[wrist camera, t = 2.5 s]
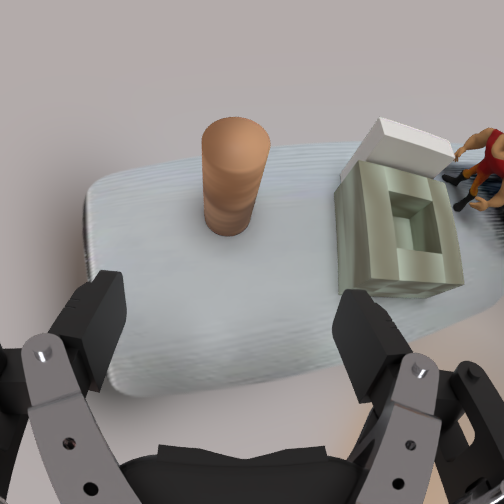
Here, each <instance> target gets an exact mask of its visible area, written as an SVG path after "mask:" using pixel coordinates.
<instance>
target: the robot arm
mask: <svg viewBox="0 0 504 504" xmlns="http://www.w3.org/2000/svg"><path fill="white" fill-rule="evenodd" d="M126 315H127V308H126V300H125V292H124V283H123V276H122V273H121V272H117V271H108V270H100V271H99V273H98V274H97V276H96V277H95V279H94V280H93V281H92V283H91V282H86V283H85V284H83V285H82V286H80V287H79V288H78V289H76V291H75V292H74V293H73V295H72V296H71V298H70V300H69V301H68V302H67V304H66V305H65V308H63V310H62V311H61V313H60V314H59V316H58V317H57V319H56V320H55V322H54V323H53V325H52V326H51V328H50V330H49V331H48V333H42V334H38V335H35V336H33V337H31V338H30V339H29V340H27V341H26V343H25V344H24V345H23V347H22V348H17V349H3V348H2V346H1V344H0V504H7V502H6V498H7V493H8V488H9V484H10V480H11V475H12V471H13V467H14V464H15V460H16V457H17V453H18V450H19V446H20V443H21V440H22V437H23V433H24V430H25V428H26V425H27V422H28V419H30V422H31V427H32V430H33V433H34V437H35V440H36V443H37V446H38V449H39V452H40V455H41V458H42V460H43V463H44V466H45V468H46V471H47V473H48V476H49V478H50V481H51V483H52V486H53V488H54V490H55V493H56V495H57V497H58V499H59V501H60V503H61V504H423V501H424V498H425V494H426V491H427V488H428V484H429V480H430V476H431V473H432V469H433V464H434V462H435V464H436V467H437V470H438V473H439V475H440V478H441V481H442V484H443V487H444V490H445V493H446V496H447V499H448V502H449V504H504V402H503V400H502V398H501V397H500V395H499V393H498V392H497V390H496V389H495V387H494V385H493V384H492V382H491V380H490V379H489V377H488V376H487V374H486V373H485V371H484V370H483V369H482V368H481V367H480V366H479V365H477V364H476V363H473V362H470V361H463V362H461V363H460V364H459V365H458V367H457V368H456V370H455V371H454V372H451V371H443V370H439V369H438V367H437V365H436V364H435V362H434V361H433V360H431V359H430V358H429V357H427V356H425V355H423V354H419V353H413V351H412V350H411V348H410V347H409V345H408V343H407V342H406V340H405V339H404V337H403V336H402V334H401V332H400V331H399V329H397V326H396V325H395V323H394V322H392V319H391V317H390V316H389V314H388V313H387V311H386V310H385V309H383V308H382V307H381V306H380V305H378V304H377V303H374V301H373V300H372V298H371V297H370V295H369V294H368V292H367V291H366V290H362V289H345V290H344V292H343V294H342V297H341V300H340V303H339V306H338V309H337V312H336V315H335V318H334V321H333V325H332V334H333V338H334V341H335V343H336V346H337V348H338V351H339V353H340V356H341V358H342V361H343V363H344V366H345V368H346V370H347V373H348V375H349V378H350V381H351V383H352V386H353V389H354V391H355V394H356V396H357V399H358V401H359V404H361V403H369V402H372V404H373V408H372V409H371V411H370V412H369V415H368V417H367V420H366V422H365V424H364V427H363V429H362V431H361V434H360V436H359V438H358V440H357V442H356V444H355V447H354V449H353V451H352V452H351V454H350V455H349V457H348V458H347V460H344V459H340V458H336V457H332V456H327V454H326V450H325V446H318V447H308V448H296V449H285V450H282V451H278V452H274V453H271V454H267V455H263V456H259V457H255V458H250V459H239V458H234V457H230V456H226V455H222V454H218V453H214V452H211V451H207V450H203V449H198V448H186V447H176V446H168V445H167V446H166V445H159V446H158V454H157V455H149V456H143V457H139V458H136V459H133V460H130V461H128V462H126V463H124V464H122V465H119V463H118V462H117V460H116V458H115V457H114V455H113V453H112V452H111V450H110V448H109V446H108V444H107V442H106V440H105V439H104V437H103V435H102V433H101V431H100V429H99V427H98V425H97V423H96V421H95V419H94V416H93V414H92V412H91V410H90V408H89V406H88V403H87V401H86V399H85V398H86V395H87V392H88V390H90V391H95V392H100V390H101V386H102V384H103V381H104V378H105V375H106V373H107V370H108V367H109V364H110V362H111V359H112V356H113V354H114V351H115V348H116V346H117V343H118V340H119V338H120V335H121V333H122V330H123V328H124V325H125V322H126ZM464 413H466V415H467V417H468V418H469V421H470V422H471V424H472V427H473V429H474V431H475V439H474V441H473V443H472V444H471V445H470V446H469V445H468V442H467V440H466V438H465V436H464V434H463V431H462V429H461V427H460V425H459V423H458V420H459V419H460V418H461V416H462V415H463V414H464Z"/></svg>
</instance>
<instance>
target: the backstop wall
mask: <svg viewBox="0 0 504 504" xmlns="http://www.w3.org/2000/svg"><path fill="white" fill-rule="evenodd" d="M454 159H455V155H454V153H453V150H452V147H451V145H450V142H449V141H448V140H445V139H443V138H440V137H437V136H435V135H432V134H430V133H427V132H424V131H421V130H419V129H416V128H413V127H410V126H407V125H404V124H401V123H398V122H395V121H391V120H388V119H385V118H382V117H379V118H378V120H377V121H376V123H375V124H374V126H373V127H372V128H371V130H370V132H369V133H368V134H367V136H366V137H365V139H364V140H363V142H362V143H361V145H360V146H359V148H358V149H357V150H356V152H355V153H354V155H353V156H352V158H351V159H350V161H349V162H348V164H347V165H346V166H345V168H344V169H343V171H342V172H341V174H340V177H341V183H342V182H343V180H344V179H345V177H346V176H347V175H348V173H349V172H350V171H351V169H352V168H353V167H354V165H355V164H356V162H357V161H358V160H361V161H366V162H370V163H374V164H378V165H382V166H386V167H390V168H394V169H398V170H401V171H405V172H409V173H412V174H416V175H419V176H423V177H426V178H430V179H433V178H435V177H436V176H437V175H438V174H439V173H440V172H441V171H442V170H443V169H444V168H446V167H447V166H448V165H449V164H450V163H451V162H452V161H453V160H454Z"/></svg>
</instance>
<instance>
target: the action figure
mask: <svg viewBox="0 0 504 504" xmlns="http://www.w3.org/2000/svg"><path fill="white" fill-rule="evenodd" d="M485 146H486V150H485V157H484V159H483V160H482V161H481V162H480V163H478V164H477V165H475V166H473V167H472V168H470V169H469V170H468V169H465V170H463V171H462V172H461V173H460V175H459V176H458V177H457V178H453V177H451V176H448V175H445V174H444V175H443V176H442V177H443V179H444V180H445V181H448V182H452V183H453V184H454V185H455V186H458V184H459V182H461V181H463V180H467V179H469V178H470V176H471V175H473V174H476V173H477V174H478V175H477V177H476V179H475V180H474V182H473V184H472V186H471V189H470V190H469V194H468V195H467V197H466V198H464V199H462V200H461V201H460V202H458V203H455V204H454V210H455V211H461V210H462V209H463V208H464V207H465V205H466V204H467V203H468V202H469V201H471V200H473V199H474V198H475V199H476V200H478V201H480V202H477V203H472V202H470V203H469V205H470V206H471V207H472V208H475V209H477V210H479V211H484V210H486V209H487V208H488V207H500V206H502V205H504V133H502V132H501V131H499V130H497V129H493V128H487V129H485V130H483V131H481V132H480V133H479V134H474V135H472V136H471V137H470V138H469V139H468V140H467V141H466V143H465V144H464V146H463V147H461V148H459V149H458V150H457V151H456V153H455V154H454V155H455V159H454V160H455V162H456V159H457V162H458V157H460V156H461V154H462V153H464V152H466V150H472V149H480V148H483V147H485ZM454 160H453V161H454ZM493 173H495V174H497V175H498V176H500V177H501V178H502V180H503V182H502V186H501V189H500V191H499V192H498V193H497V194H496V195H495V196H494V197H493V198H492V199H491V200H489V201H486V200H484V199H483V198H480V197H476V196H477V193H478V188H477V187H478V186H479V185H480V184H481V183H483V182H484V181H485V180H486V179H487V178H488V177H489V176H490V175H491V174H493Z"/></svg>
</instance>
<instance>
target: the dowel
mask: <svg viewBox="0 0 504 504" xmlns="http://www.w3.org/2000/svg"><path fill="white" fill-rule="evenodd" d="M269 150H270V139H269V136H268V134H267V132H266V131H265V130H264V128H262V127H261V126H260V125H259V124H257V123H256V122H254V121H252V120H249V119H246V118H241V117H228V118H223V119H220V120H217V121H215V122H214V123H212V124H211V125H210V126H208V128H207V129H206V130H205V132H204V134H203V136H202V171H203V196H204V216H205V221H206V224H207V225H208V227H209V228H210V229H211V230H212V231H213V232H215V233H216V234H219V235H222V236H234V235H237V234H239V233H241V232H242V231H244V230H245V229H246V227H247V226H248V224H249V222H250V218H251V215H252V211H253V207H254V204H255V200H256V197H257V193H258V189H259V186H260V182H261V179H262V175H263V172H264V168H265V164H266V161H267V157H268V154H269Z"/></svg>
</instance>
